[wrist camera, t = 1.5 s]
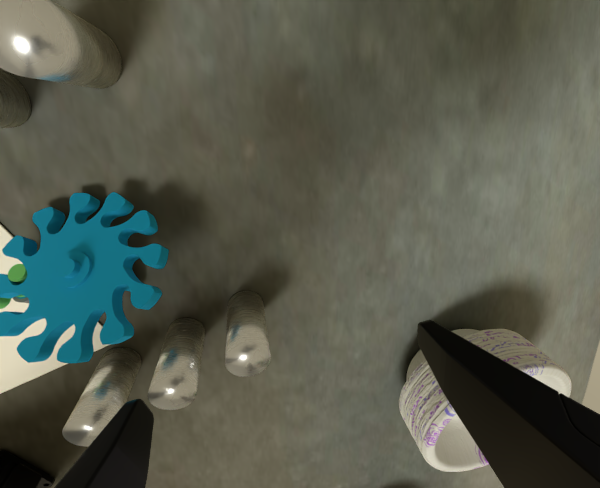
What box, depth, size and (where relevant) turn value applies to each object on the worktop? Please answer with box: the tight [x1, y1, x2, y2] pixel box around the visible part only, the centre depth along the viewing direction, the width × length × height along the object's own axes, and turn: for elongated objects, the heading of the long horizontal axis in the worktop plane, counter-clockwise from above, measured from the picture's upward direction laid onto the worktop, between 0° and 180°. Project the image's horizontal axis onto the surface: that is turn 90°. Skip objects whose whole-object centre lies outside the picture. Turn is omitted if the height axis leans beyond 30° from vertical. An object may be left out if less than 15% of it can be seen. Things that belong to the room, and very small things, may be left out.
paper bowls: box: [399, 329, 571, 472], centre depth 29 cm, size 15×15×8 cm
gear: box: [0, 192, 169, 363], centre depth 18 cm, size 11×6×10 cm
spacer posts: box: [0, 0, 271, 447], centre depth 17 cm, size 14×22×6 cm, turn 21°
